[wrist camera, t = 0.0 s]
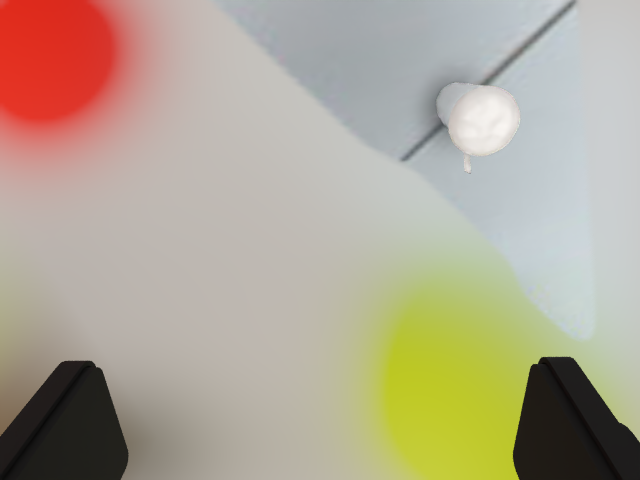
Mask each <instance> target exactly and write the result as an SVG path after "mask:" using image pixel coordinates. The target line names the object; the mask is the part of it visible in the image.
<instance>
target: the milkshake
mask: <svg viewBox="0 0 640 480" xmlns="http://www.w3.org/2000/svg"><path fill="white" fill-rule="evenodd" d="M436 108H437V114H438V116H439V117H440V119H441V121H442V122H443V124H444V126H445V127H446V129H447V131H448V133H449V135H450V137H451V140H452V142H453V143H454V145H455V146H456V147H457V148H458V149H460V150H461V151H463V152H464V170H465V172H467V173H469V174H471V165H470V155H473V156H487V155H490V154H493V153H495V152H497V151H499V150H501V149H502V148H504V147H505V146H506V145H507V144H508V143H509V142H510V140H511V139H512V138H513V136H514V135H515V133H516V131H517V129H518V127H519V123H520V110H519V107H518V105H517V103H516V101H515V99H514V97H513V96H512V95H511V94H510V93H509V92H507V91H506V90H504V89H502V88H499V87H495V86H486V85H474V84H468V83H458V82H453V83H451V84H449V85H448V86H446V87H444V88H443V89H442V90H441V92H440V94H439V95H438V97H437V99H436Z"/></svg>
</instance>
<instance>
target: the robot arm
mask: <svg viewBox="0 0 640 480" xmlns="http://www.w3.org/2000/svg"><path fill="white" fill-rule="evenodd" d="M513 461H514V466H515V469H516V472H517V475H518V477H519V480H640V442H639V441H638V440H637V438H636V437H635V435H634V434H633V433H632V432H631V431H630V430H629V428H628V427H626V426H625V425H623V424H622V423H619V422H618V421H617V419H616V418H615V416H614V415H613V414H612V412H611V411H610V409H609V408H608V406H607V405H606V404H605V402H604V401H603V399H602V398H601V397H600V395H599V394H598V392H597V391H596V389H595V388H594V387H593V385H592V384H591V382H590V381H589V379H588V378H587V376H586V375H585V374H584V372H583V371H582V369H581V368H580V367H579V365H578V364H577V362H576V361H575V360H574V359H573V358H571V357H542V358H541V359H540V360H539V362H538V364H533V365H532V366H531V368H530V372H529V377H528V382H527V387H526V392H525V397H524V401H523V406H522V411H521V416H520V421H519V425H518V431H517V435H516V440H515V445H514V450H513ZM127 463H128V449H127V446H126V443H125V440H124V436H123V433H122V430H121V427H120V424H119V421H118V418H117V415H116V412H115V409H114V405H113V402H112V399H111V396H110V393H109V390H108V387H107V383H106V381H105V377H104V374H103V371H102V370H101V369H100V368H98V367H96V366H95V364H94V363H93V362H92V361H64V362H61V363H60V364H59V365H58V367H57V368H56V369H55V370H54V371H53V373H52V374H51V375H50V376H49V377H48V379H47V380H46V381H45V383H44V384H43V385H42V386H41V387H40V388H39V390H38V391H37V392H36V393H35V395H34V396H33V397H32V398H31V399H30V401H29V402H28V403H27V404H26V406H25V407H24V408H23V409H22V411H21V412H20V413H19V414H18V415H17V417H16V418H15V419H14V420H13V422H12V423H11V424H10V425H9V427H8V428H7V429H6V430H5V432H4V433H3V434H2V435H1V436H0V480H121V478H122V475H123V473H124V471H125V469H126V466H127Z"/></svg>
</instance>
